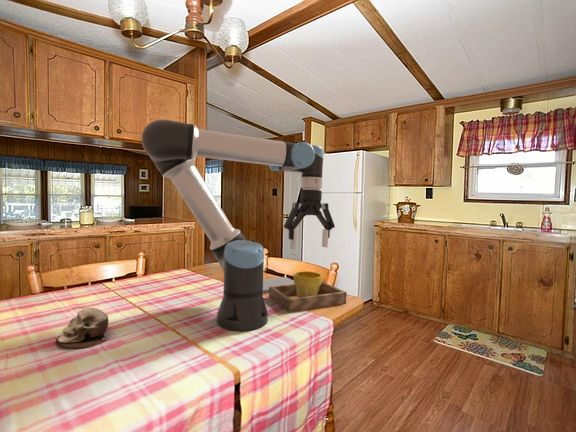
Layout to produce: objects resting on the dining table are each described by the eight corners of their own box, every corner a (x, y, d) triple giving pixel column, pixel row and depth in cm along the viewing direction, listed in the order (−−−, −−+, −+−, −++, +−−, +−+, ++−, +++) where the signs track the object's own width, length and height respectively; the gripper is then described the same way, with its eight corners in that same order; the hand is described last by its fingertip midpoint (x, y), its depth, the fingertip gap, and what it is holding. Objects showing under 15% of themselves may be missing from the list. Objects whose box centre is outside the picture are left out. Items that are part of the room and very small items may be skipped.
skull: (56, 352, 70) (54, 310, 74) (56, 367, 76) (54, 327, 81) (116, 337, 77) (111, 299, 82) (112, 351, 84) (107, 316, 88)
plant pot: (320, 296, 119) (321, 271, 119) (321, 306, 109) (322, 278, 108) (293, 295, 120) (294, 270, 120) (291, 304, 110) (292, 276, 109)
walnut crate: (289, 312, 102) (289, 300, 102) (268, 297, 116) (269, 286, 116) (346, 303, 113) (346, 292, 112) (321, 290, 127) (321, 280, 127)
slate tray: (262, 293, 121) (262, 290, 121) (249, 283, 134) (249, 280, 134) (302, 288, 129) (302, 285, 129) (286, 279, 142) (286, 276, 142)
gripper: (285, 187, 103) (283, 251, 104) (345, 190, 115) (343, 247, 116) (275, 188, 110) (274, 247, 111) (333, 190, 121) (331, 244, 123)
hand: (309, 247), depth 113 cm, fingers open, 13 cm apart
